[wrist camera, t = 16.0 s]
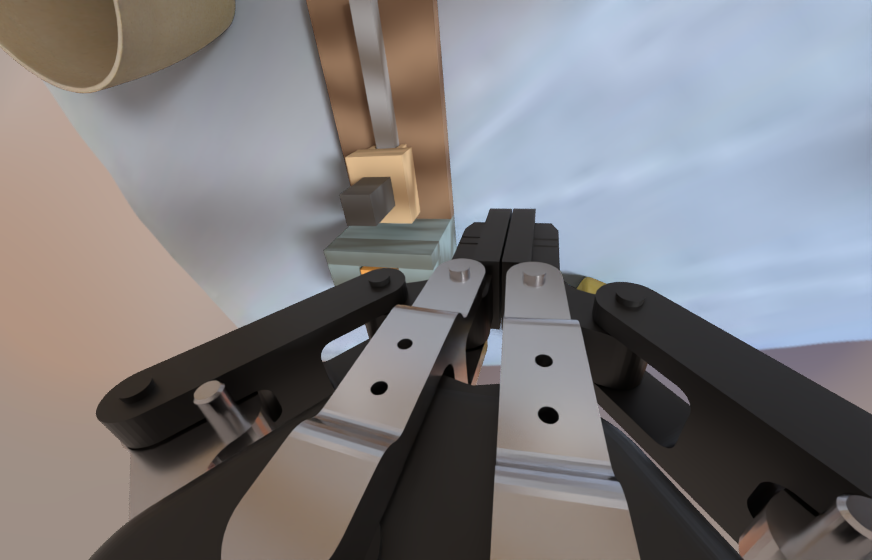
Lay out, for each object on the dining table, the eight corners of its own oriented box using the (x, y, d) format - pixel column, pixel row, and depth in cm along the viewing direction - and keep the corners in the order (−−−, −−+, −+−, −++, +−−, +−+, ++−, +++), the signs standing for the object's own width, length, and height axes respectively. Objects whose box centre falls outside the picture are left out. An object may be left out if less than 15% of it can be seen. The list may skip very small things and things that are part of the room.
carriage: (364, 146, 38) (318, 173, 31) (416, 143, 37) (381, 171, 29) (376, 206, 42) (338, 243, 35) (424, 206, 40) (395, 246, 33)
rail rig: (313, -5, 33) (238, -17, 25) (434, -27, 30) (392, -50, 22) (375, 265, 50) (342, 309, 42) (458, 270, 46) (439, 318, 38)
